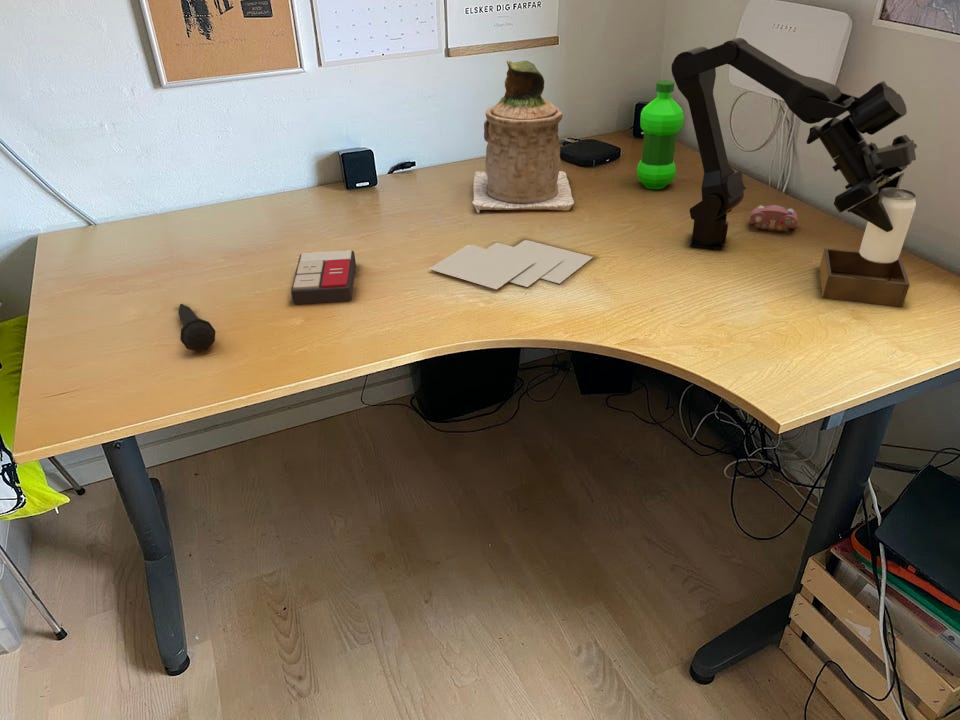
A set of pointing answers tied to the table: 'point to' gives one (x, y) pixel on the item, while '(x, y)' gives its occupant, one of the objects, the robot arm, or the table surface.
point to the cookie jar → (522, 148)
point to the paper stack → (511, 264)
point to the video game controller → (774, 217)
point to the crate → (862, 279)
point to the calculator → (324, 277)
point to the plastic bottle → (659, 138)
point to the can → (889, 244)
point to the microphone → (195, 330)
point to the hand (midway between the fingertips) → (896, 224)
